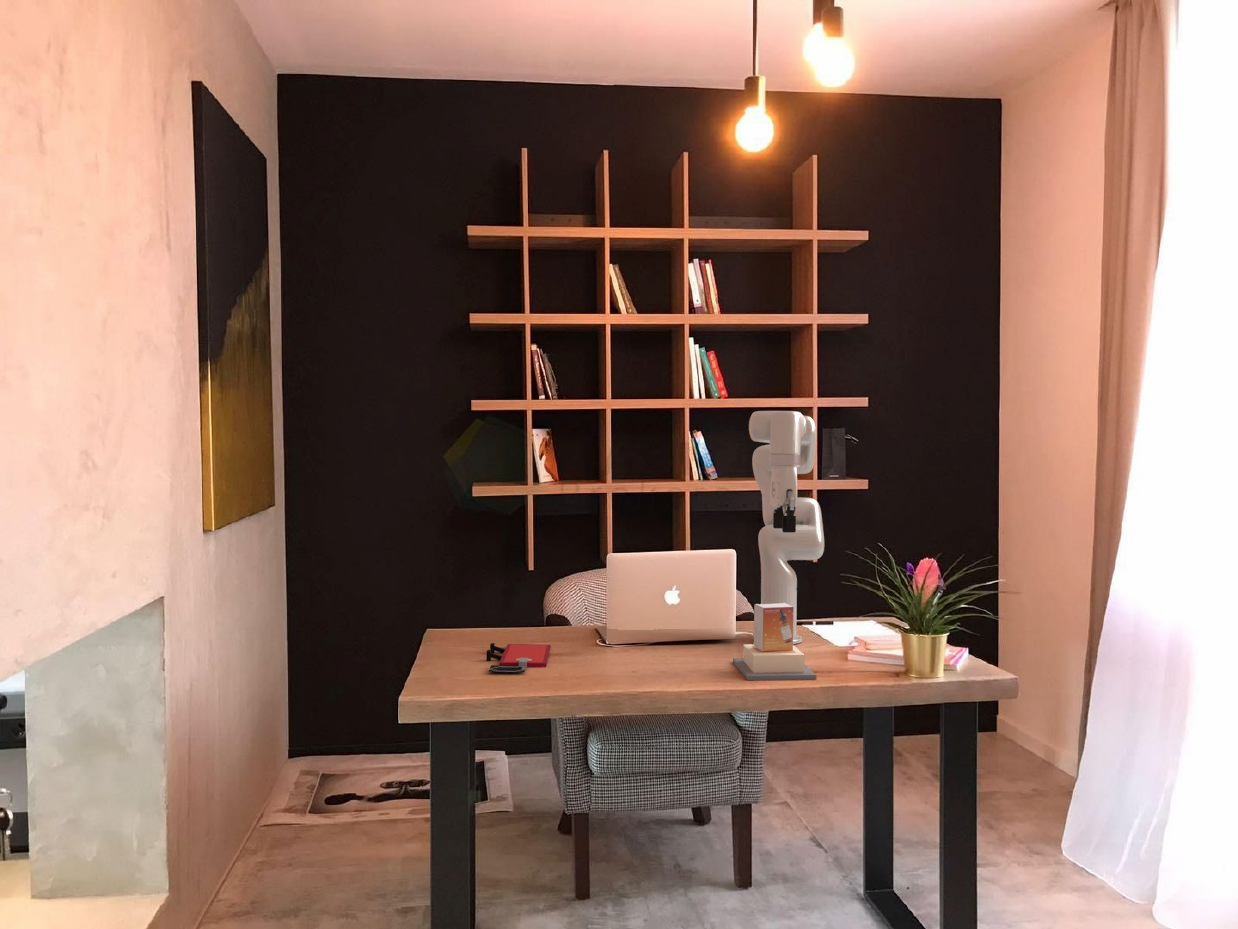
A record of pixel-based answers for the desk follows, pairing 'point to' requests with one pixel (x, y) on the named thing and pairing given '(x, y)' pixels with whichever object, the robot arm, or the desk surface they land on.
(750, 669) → the build board
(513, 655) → the red board with handle
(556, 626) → the desk surface
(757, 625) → the small box
